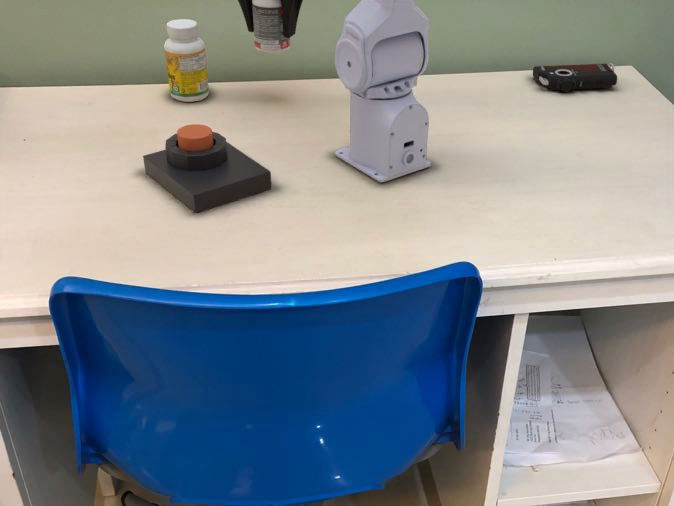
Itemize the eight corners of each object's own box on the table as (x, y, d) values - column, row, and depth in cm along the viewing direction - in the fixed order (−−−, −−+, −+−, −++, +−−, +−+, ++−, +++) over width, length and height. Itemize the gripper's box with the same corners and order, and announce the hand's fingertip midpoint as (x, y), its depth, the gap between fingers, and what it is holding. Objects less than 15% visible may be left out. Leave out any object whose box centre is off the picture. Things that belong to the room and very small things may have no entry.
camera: (620, 75, 123) (545, 78, 123) (616, 93, 125) (542, 96, 125) (607, 55, 128) (534, 58, 127) (603, 74, 130) (531, 77, 129)
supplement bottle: (212, 100, 119) (205, 28, 113) (173, 104, 118) (164, 31, 112) (205, 86, 123) (198, 15, 117) (167, 89, 122) (158, 18, 116)
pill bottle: (288, 54, 114) (286, -14, 109) (253, 53, 114) (248, -15, 109) (291, 42, 118) (289, -24, 112) (256, 41, 118) (253, -25, 112)
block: (271, 188, 100) (270, 156, 98) (195, 213, 96) (191, 179, 93) (218, 152, 107) (215, 120, 105) (145, 173, 103) (140, 140, 100)
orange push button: (220, 147, 100) (218, 133, 99) (189, 156, 98) (187, 141, 97) (202, 135, 102) (201, 121, 101) (172, 143, 100) (170, 129, 99)
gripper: (197, -83, 105) (208, 33, 114) (305, -70, 101) (308, 49, 110) (225, -94, 110) (234, 18, 119) (330, -82, 106) (330, 33, 115)
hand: (271, 32), depth 115 cm, fingers closed on pill bottle, 5 cm apart
